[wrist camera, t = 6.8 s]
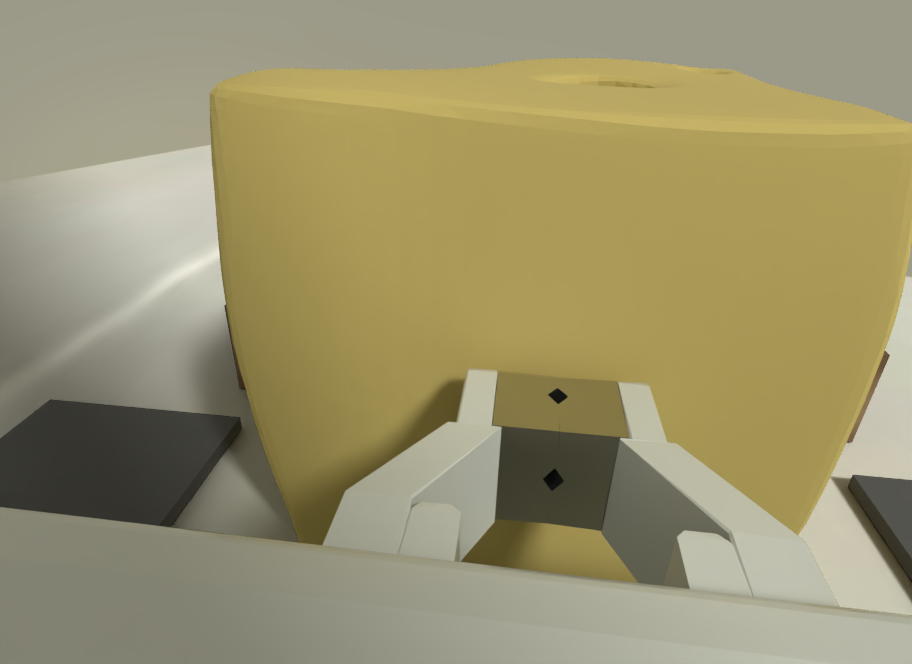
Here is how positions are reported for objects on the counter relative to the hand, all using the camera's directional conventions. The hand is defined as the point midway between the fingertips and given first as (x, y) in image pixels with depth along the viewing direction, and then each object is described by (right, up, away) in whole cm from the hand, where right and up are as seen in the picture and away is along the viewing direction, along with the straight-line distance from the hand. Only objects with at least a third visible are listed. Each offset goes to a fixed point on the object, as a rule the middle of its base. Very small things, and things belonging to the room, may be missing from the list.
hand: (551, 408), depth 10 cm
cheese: (0, -2, +7) cm, 7 cm away
